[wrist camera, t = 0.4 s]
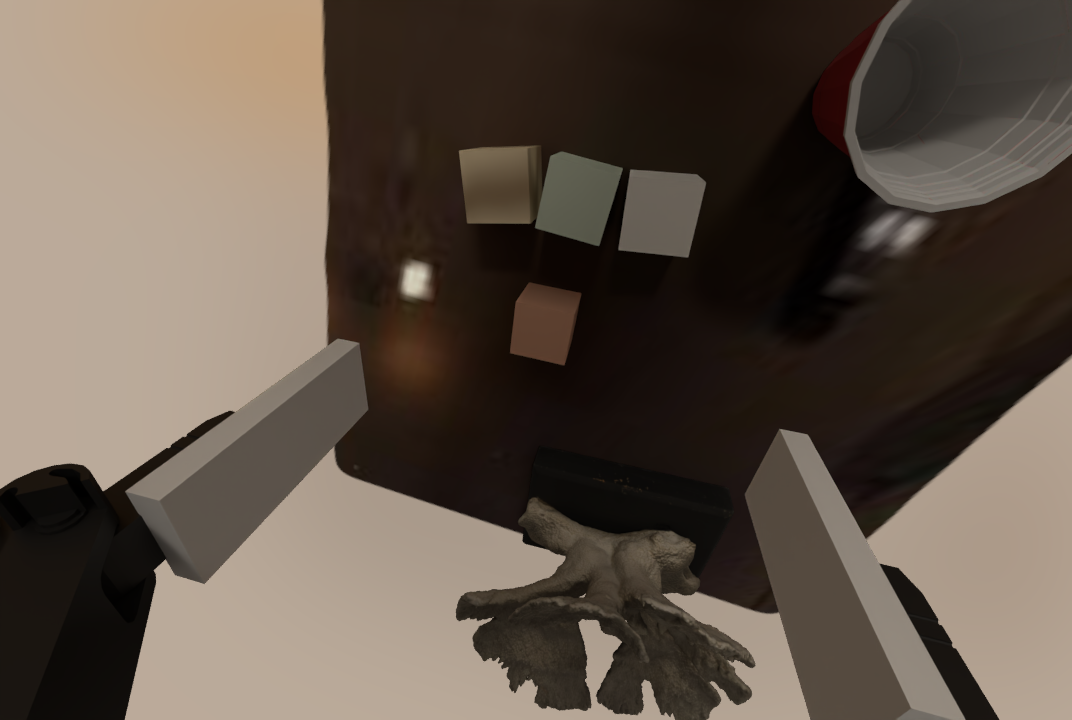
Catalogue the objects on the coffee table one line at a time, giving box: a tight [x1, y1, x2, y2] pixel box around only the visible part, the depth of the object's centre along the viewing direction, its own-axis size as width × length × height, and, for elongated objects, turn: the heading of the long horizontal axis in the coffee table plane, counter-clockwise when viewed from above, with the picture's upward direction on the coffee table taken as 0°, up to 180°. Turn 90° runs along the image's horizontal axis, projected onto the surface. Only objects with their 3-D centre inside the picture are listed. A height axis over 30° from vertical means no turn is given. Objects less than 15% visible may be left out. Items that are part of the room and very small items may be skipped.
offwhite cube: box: [618, 170, 706, 257], centre depth 31 cm, size 5×5×5 cm
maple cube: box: [459, 145, 542, 224], centre depth 32 cm, size 5×5×5 cm
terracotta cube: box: [510, 282, 581, 365], centre depth 37 cm, size 5×5×5 cm
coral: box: [456, 446, 755, 720], centre depth 40 cm, size 25×20×21 cm
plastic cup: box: [812, 0, 1072, 212], centre depth 22 cm, size 11×11×12 cm
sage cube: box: [535, 152, 623, 246], centre depth 31 cm, size 5×5×5 cm
